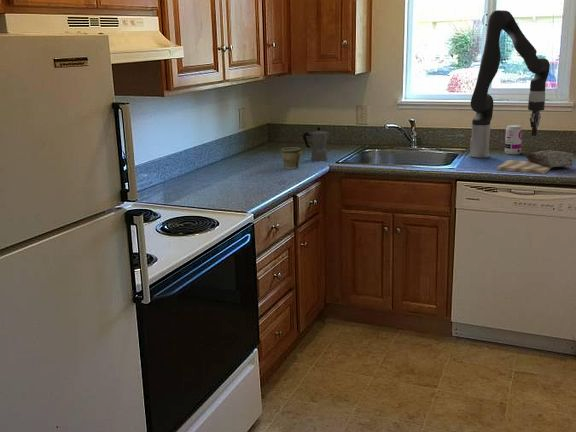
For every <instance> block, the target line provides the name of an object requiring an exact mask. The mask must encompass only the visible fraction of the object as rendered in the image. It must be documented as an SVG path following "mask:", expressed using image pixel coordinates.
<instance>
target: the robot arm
mask: <svg viewBox="0 0 576 432" xmlns="http://www.w3.org/2000/svg"><path fill="white" fill-rule="evenodd" d="M486 29H487V30H486V37H485V43H484V45H483V46H484V47H483V52H482V56H481V60H480V64H479V65H480V66H479V70H478V73H477V74H478V75H477V79H476V83H475V86H474V89H473V93H472V96H471V99H470V108H471V109H472V111H473V112H475V116H474V118H472V120H471V121H472V124H471V138H470V139H469V157H471V158H489V155H490V154H489V151H490V137H491V136H490V135H491V134H490V133H491V121H492V119H493V111H494V98H493V96H492V95H491V94H489V88H490V86H491V83H492V82H493V80H494V78H495V77H496V75H497V73H498V70H499V67H500V64H501V63H500V62H501V58H502V57H501V56H502V54H501V46H500V39H501V38H500V37H501V33H502V31H504V32H505V33H506V34H507V35H508V36H509V38H510V39H511V42H512V45H513V47H514V49H515V51H516V53H518V54H519V56H520V57H521V58H522V59H523V61H524V63H525V65H526V67H527V69H528V71H529V72H531V73H532V74H534V78H532V79H531V80H530V84H529V94H528V106H527V110H528V111H531V113H530V118H529V121H530V128H531V136H533V137H535V136H537V135H538V128H539V126H540V122H541V117H542V114H541V112H540V111H544V110H545V105H546V86H547V85H546V84H547V81H548V77H549V73H550V71H551V70H550V68H551V65H550V61H549V60H548V59H547V58H544V57H542V58H539V57H538V55H537V53H538V52H537V49H536V48H535V46H534V45H533V44H532V43H531V42H530V41H529V40H528V38H527V37H526V35H525V34H524V33H523V31H522V30H521V28H520V26H519V25H518V23H517V21H516V20H515V18H514V16H513V15H512V13H511V12H510V11H508V10H502V9H501V10H499V9H495V10H494V11H493V12H491V13H490V15H489V17H488V20H487V28H486Z"/></svg>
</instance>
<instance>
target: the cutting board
mask: <svg viewBox="0 0 576 432" xmlns="http://www.w3.org/2000/svg"><path fill="white" fill-rule="evenodd" d="M552 168H553V167H546V166H542V165H540V164H536V163H533V162H530V161H529V160H527V161H526V160H516V159H515V160H514V159H507V160H505V161H504V162H502V163H501V164H499V165H498V166H497V167H496V170H497V171H503V172H504V171H505V172H506V171H507V172H515V173H516V172H518V173H519V172H520V173H531V174H532V173H533V174H541V173H542V174H543V175H544V174H545V173H546V174H547V173H548V172H549V171H550V170H551V169H552Z"/></svg>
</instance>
